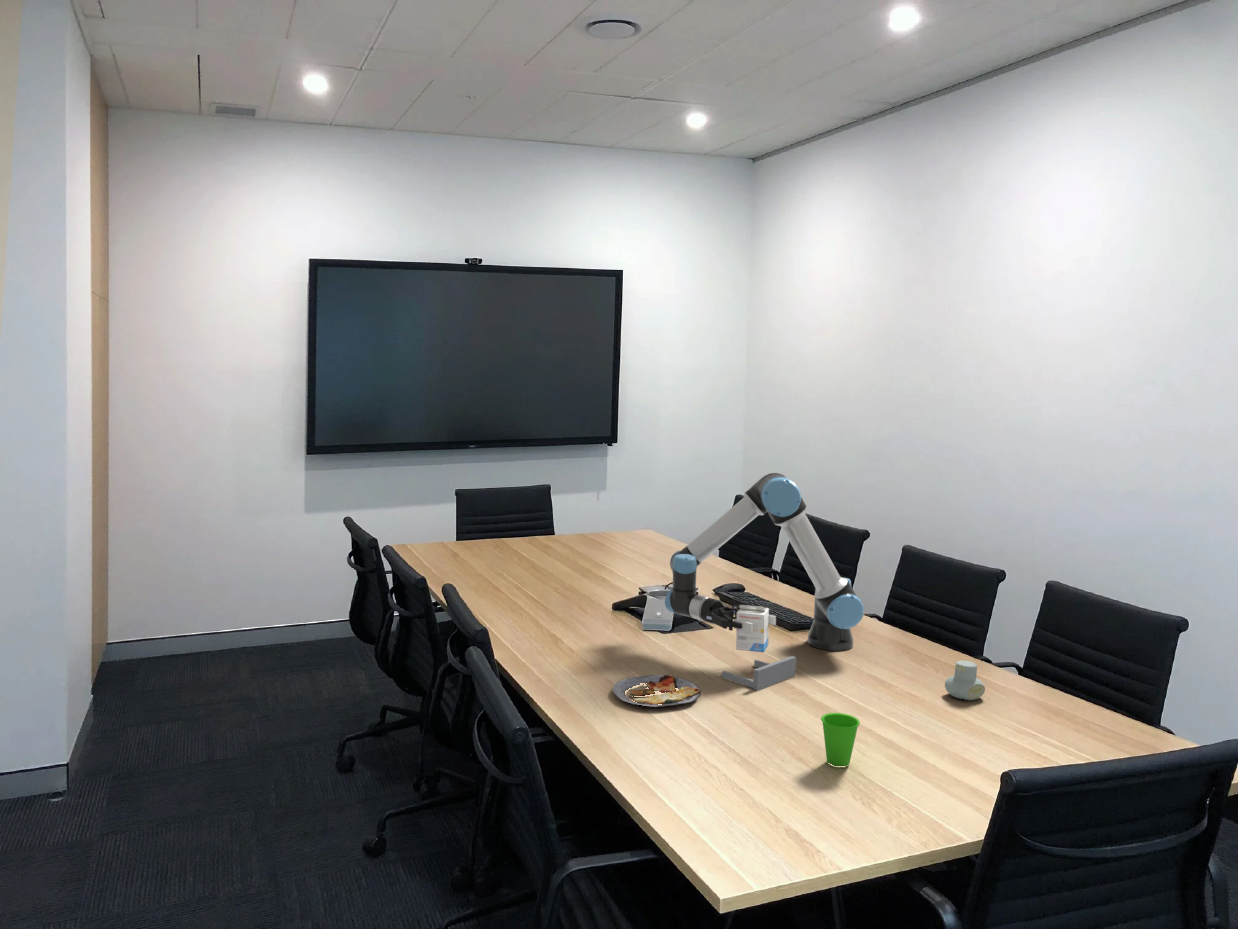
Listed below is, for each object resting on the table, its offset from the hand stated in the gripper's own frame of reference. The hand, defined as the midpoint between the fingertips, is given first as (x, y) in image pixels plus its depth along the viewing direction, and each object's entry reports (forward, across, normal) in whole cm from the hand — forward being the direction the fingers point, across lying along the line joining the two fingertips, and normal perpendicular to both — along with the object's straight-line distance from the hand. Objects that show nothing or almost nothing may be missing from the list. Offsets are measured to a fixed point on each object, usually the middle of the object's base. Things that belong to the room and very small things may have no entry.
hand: (763, 624), depth 285 cm
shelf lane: (-2, 0, -17) cm, 17 cm away
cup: (+49, +35, -17) cm, 62 cm away
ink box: (-4, 0, -8) cm, 9 cm away
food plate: (-11, +34, -17) cm, 40 cm away
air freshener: (+48, -32, -18) cm, 61 cm away
